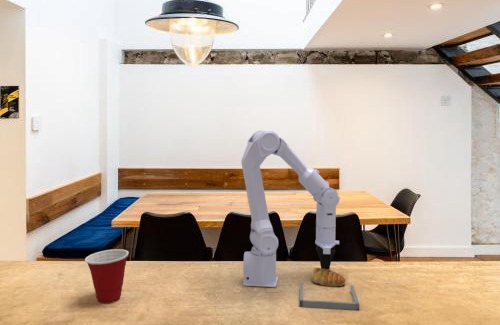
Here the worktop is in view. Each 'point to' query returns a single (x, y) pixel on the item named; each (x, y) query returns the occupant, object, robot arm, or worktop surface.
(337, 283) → the pastry
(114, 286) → the plastic cup
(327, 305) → the grey u-shaped bracket
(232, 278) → the worktop surface
